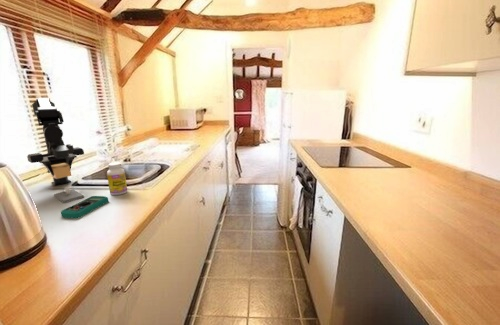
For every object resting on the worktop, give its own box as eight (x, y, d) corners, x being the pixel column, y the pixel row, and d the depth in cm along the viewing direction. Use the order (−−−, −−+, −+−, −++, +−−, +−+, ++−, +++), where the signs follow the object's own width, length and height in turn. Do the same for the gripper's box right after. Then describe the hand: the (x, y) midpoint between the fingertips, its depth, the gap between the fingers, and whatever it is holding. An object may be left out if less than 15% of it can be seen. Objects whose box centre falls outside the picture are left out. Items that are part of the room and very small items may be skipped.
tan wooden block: (52, 176, 110) (49, 165, 109) (67, 173, 115) (64, 162, 113) (56, 178, 107) (53, 167, 106) (71, 175, 111) (69, 164, 110)
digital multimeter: (59, 218, 87) (57, 210, 86) (93, 201, 101) (92, 194, 100) (77, 220, 85) (76, 212, 85) (109, 202, 99) (108, 195, 99)
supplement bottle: (112, 197, 104) (107, 166, 101) (108, 192, 109) (103, 163, 106) (129, 192, 108) (125, 163, 105) (125, 189, 113) (121, 160, 110)
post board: (54, 196, 106) (52, 187, 105) (73, 191, 112) (71, 182, 111) (64, 202, 99) (61, 193, 98) (84, 197, 104) (82, 188, 103)
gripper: (30, 143, 95) (39, 183, 99) (85, 136, 109) (92, 171, 113) (22, 140, 101) (32, 178, 105) (76, 135, 116) (82, 168, 119)
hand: (61, 173), depth 111 cm, fingers closed on tan wooden block, 6 cm apart
